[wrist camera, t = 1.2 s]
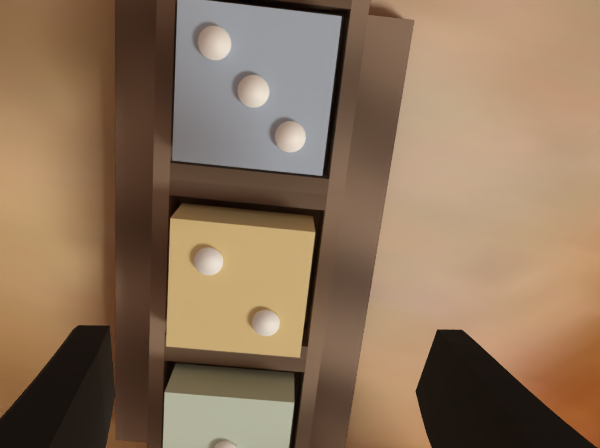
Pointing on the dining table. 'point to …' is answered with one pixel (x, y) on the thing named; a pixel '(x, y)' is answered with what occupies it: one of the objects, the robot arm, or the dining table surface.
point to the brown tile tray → (253, 196)
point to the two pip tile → (238, 279)
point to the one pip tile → (227, 408)
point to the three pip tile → (253, 86)
